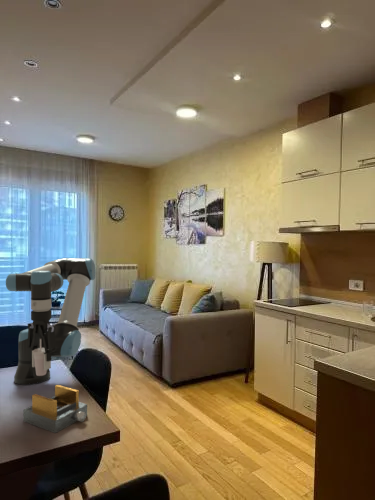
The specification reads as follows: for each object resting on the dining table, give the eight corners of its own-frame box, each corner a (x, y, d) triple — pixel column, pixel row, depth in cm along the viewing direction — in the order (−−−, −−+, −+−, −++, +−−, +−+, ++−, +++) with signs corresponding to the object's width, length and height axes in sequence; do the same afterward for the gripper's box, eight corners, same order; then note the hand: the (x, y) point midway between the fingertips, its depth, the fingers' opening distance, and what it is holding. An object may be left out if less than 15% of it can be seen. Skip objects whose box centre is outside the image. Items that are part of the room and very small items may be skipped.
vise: (23, 421, 122) (23, 395, 122) (56, 405, 134) (56, 382, 134) (61, 435, 113) (62, 407, 113) (93, 417, 125) (93, 392, 125)
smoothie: (44, 369, 145) (44, 336, 145) (53, 373, 141) (53, 338, 141) (29, 374, 140) (29, 339, 140) (37, 378, 136) (37, 342, 136)
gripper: (17, 308, 141) (17, 366, 142) (50, 313, 132) (50, 374, 132) (33, 306, 148) (33, 360, 148) (65, 310, 139) (65, 368, 139)
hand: (41, 367), depth 140 cm, fingers closed on smoothie, 6 cm apart
